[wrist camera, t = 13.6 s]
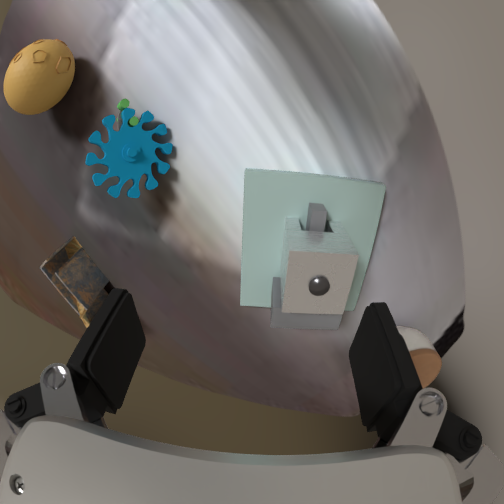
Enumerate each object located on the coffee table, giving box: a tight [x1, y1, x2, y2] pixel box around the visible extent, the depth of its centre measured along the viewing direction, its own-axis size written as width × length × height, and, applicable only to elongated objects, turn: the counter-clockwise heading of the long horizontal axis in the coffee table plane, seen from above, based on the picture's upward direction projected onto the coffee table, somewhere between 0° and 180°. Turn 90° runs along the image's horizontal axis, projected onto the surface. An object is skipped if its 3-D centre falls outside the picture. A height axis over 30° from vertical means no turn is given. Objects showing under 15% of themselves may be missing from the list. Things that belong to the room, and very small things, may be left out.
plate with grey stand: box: [240, 169, 386, 330], centre depth 31 cm, size 18×16×8 cm
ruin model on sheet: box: [40, 236, 109, 328], centre depth 34 cm, size 11×3×10 cm, turn 32°
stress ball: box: [4, 39, 75, 115], centre depth 20 cm, size 10×10×10 cm
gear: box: [86, 99, 173, 198], centre depth 27 cm, size 11×6×10 cm
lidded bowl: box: [396, 326, 442, 389], centre depth 37 cm, size 13×13×11 cm
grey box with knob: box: [280, 217, 359, 314], centre depth 29 cm, size 7×6×8 cm
